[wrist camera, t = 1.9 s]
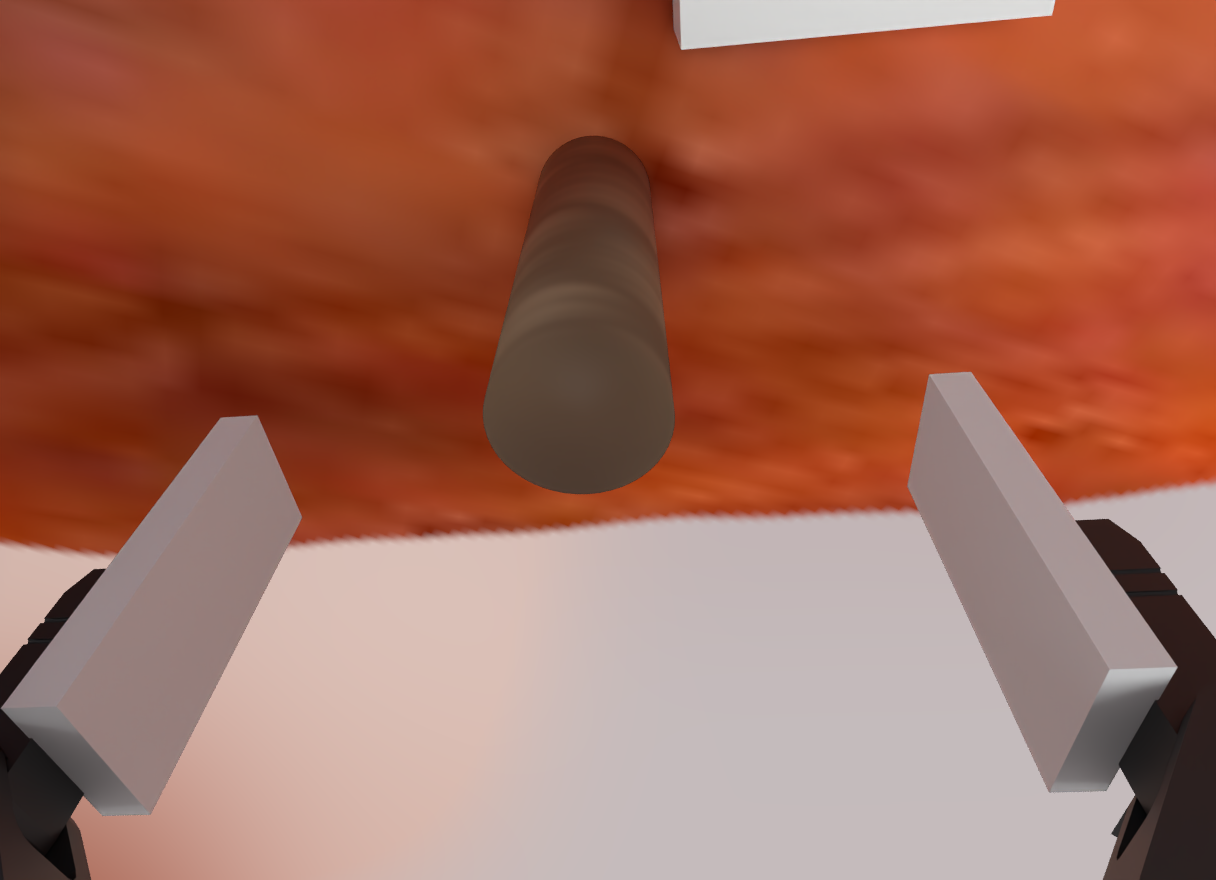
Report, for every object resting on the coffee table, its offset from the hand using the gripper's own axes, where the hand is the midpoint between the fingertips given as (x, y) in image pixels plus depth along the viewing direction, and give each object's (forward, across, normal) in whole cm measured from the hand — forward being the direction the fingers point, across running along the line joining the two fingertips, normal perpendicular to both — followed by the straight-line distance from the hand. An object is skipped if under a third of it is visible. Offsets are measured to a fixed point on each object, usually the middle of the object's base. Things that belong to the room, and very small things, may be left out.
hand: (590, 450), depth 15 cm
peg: (+15, 0, 0) cm, 15 cm away
